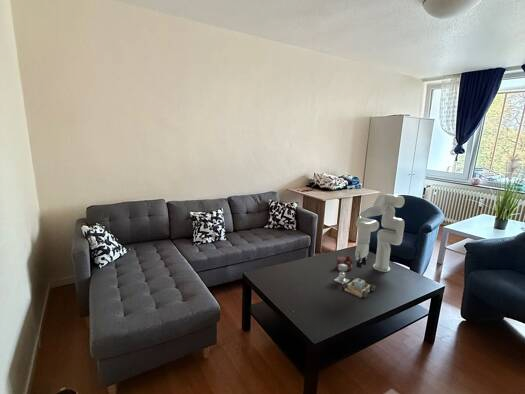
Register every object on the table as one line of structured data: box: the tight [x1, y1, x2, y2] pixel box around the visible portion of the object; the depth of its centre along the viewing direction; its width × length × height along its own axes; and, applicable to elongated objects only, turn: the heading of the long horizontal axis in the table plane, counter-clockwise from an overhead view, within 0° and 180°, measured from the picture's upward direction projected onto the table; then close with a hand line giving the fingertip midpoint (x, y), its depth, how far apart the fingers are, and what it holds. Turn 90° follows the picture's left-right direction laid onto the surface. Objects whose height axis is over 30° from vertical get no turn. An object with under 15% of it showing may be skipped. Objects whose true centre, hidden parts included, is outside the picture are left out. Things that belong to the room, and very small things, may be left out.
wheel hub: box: [337, 264, 348, 272], centre depth 196 cm, size 6×6×3 cm
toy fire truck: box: [336, 255, 354, 271], centre depth 216 cm, size 7×12×10 cm, turn 81°
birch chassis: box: [342, 276, 376, 299], centre depth 186 cm, size 16×16×4 cm
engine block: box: [354, 277, 366, 290], centre depth 186 cm, size 5×5×6 cm
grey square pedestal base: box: [333, 271, 351, 285], centre depth 197 cm, size 8×8×6 cm
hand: (361, 265), depth 183 cm, fingers open, 5 cm apart
